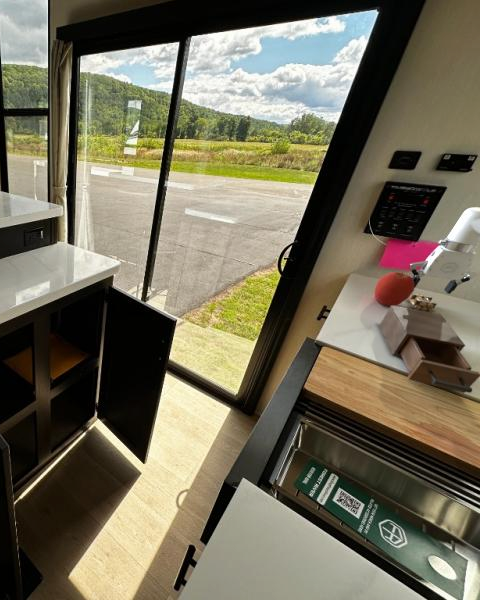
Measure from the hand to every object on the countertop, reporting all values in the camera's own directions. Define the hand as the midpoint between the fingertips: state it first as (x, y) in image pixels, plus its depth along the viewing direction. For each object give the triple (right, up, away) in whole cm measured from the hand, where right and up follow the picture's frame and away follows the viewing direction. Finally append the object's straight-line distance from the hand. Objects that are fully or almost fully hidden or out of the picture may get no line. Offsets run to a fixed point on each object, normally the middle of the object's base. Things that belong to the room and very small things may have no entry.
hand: (429, 288), depth 115 cm
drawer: (-28, -25, -25) cm, 45 cm away
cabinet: (-22, -18, -14) cm, 32 cm away
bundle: (0, -6, +4) cm, 7 cm away
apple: (-11, -6, +6) cm, 13 cm away
